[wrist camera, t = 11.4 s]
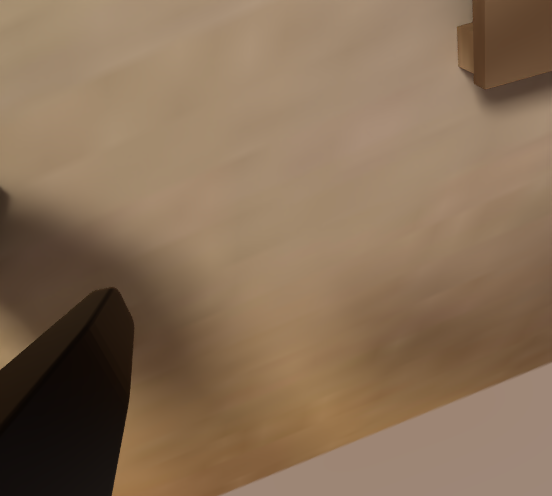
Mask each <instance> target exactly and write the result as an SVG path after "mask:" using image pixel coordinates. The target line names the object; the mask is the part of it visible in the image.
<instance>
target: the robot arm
mask: <svg viewBox="0 0 552 496" xmlns="http://www.w3.org/2000/svg"><path fill="white" fill-rule="evenodd" d="M133 341H134V322H133V319H132V316H131V314H130V312H129V310H128V308H127V306H126V304H125V302H124V300H123V298H122V296H121V294H120V292H119V291H118V290H117V289H116V288H114V287H109V288H104V289H99V290H95V291H93V292H92V293H90V294H89V295H88V296H87V297H86V298H84V299H83V300H82V301H81V302H80V303H79V304H77V305H76V306H75V307H74V308H73V309H72V310H70V311H69V312H68V313H67V314H66V315H65V316H63V317H62V318H61V319H60V320H59V321H57V322H56V323H55V324H54V325H53V326H52V327H50V328H49V329H48V330H47V331H46V332H45V333H43V334H42V335H41V336H40V337H39V338H38V339H36V340H35V341H34V342H33V343H32V344H30V345H29V346H28V347H27V348H26V349H25V350H23V351H22V352H21V353H20V354H19V355H18V356H16V357H15V358H14V359H13V360H12V361H11V362H9V363H8V364H7V365H6V366H5V367H3V368H2V369H1V370H0V496H112V491H113V485H114V480H115V475H116V469H117V464H118V458H119V453H120V448H121V442H122V437H123V432H124V426H125V421H126V416H127V410H128V404H129V397H130V387H131V372H132V356H133Z"/></svg>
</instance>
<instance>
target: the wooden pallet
mask: <svg viewBox="0 0 552 496" xmlns="http://www.w3.org/2000/svg"><path fill="white" fill-rule="evenodd" d="M457 37H458V66H459V67H461V68H463V69H465V70H467V71H469V72H471V73H473V74H474V84H476V85H477V86H479V87H481V88H483V89H485V90H486V89H489V88H493V87H496V86H500V85H503V84H507V83H511V82H514V81H518V80H521V79H525V78H528V77H532V76H536V75H539V74H543V73H546V72H550V71H552V0H473V22H472V23H469V24H465V25H462V26H458V27H457Z"/></svg>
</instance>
